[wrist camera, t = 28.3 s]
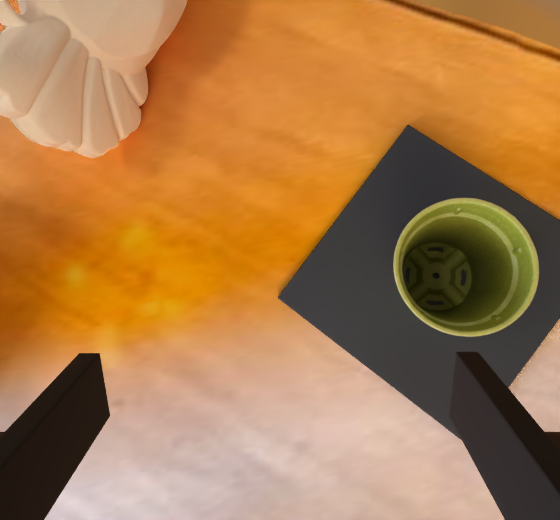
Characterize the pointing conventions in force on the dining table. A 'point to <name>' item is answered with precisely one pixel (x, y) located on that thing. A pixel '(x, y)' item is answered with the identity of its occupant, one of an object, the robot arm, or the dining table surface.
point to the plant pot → (466, 267)
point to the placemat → (380, 274)
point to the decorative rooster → (80, 68)
